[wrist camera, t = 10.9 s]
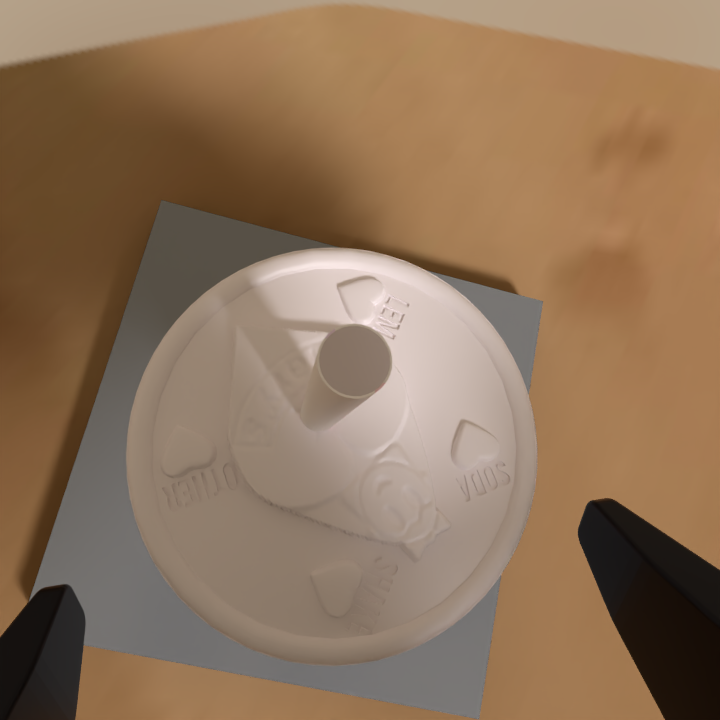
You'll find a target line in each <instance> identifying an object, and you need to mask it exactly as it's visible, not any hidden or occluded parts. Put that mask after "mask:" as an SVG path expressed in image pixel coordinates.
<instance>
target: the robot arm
mask: <svg viewBox="0 0 720 720" xmlns="http://www.w3.org/2000/svg"><path fill="white" fill-rule="evenodd" d="M578 537H579V541H580V544H581V546H582V549H583V551H584V554H585V556H586V558H587V561H588V563H589V566H590V568H591V570H592V573H593V575H594V578H595V580H596V583H597V585H598V587H599V590H600V592H601V595H602V597H603V600H604V602H605V604H606V607H607V609H608V611H609V614H610V616H611V618H612V620H613V622H614V624H615V626H616V628H617V630H618V632H619V634H620V636H621V638H622V640H623V642H624V644H625V645H626V647H627V649H628V651H629V653H630V655H631V657H632V659H633V660H634V662H635V664H636V666H637V668H638V670H639V672H640V674H641V675H642V677H643V679H644V681H645V683H646V685H647V687H648V689H649V690H650V692H651V694H652V696H653V698H654V700H655V702H656V704H657V705H658V707H659V709H660V711H661V713H662V715H663V717H664V719H665V720H720V570H719V569H717V568H716V567H714V566H713V565H711V564H710V563H708V562H707V561H705V560H704V559H702V558H701V557H699V556H698V555H696V554H695V553H693V552H692V551H690V550H689V549H687V548H686V547H684V546H683V545H681V544H680V543H678V542H677V541H675V540H674V539H672V538H671V537H669V536H668V535H666V534H665V533H663V532H662V531H660V530H659V529H657V528H656V527H654V526H653V525H651V524H650V523H648V522H647V521H645V520H644V519H642V518H641V517H639V516H638V515H636V514H635V513H633V512H632V511H630V510H629V509H627V508H626V507H624V506H623V505H621V504H620V503H618V502H617V501H615V500H613V499H610V498H604V499H598V500H592V501H590V502H589V503H588V504H587V505H586V508H585V511H584V514H583V516H582V519H581V522H580V525H579V528H578ZM85 626H86V619H85V613H84V610H83V608H82V606H81V604H80V602H79V600H78V598H77V596H76V594H75V592H74V590H73V589H72V587H71V586H70V585H68V584H61V585H55V586H48V587H44V588H42V589H40V590H39V591H38V592H37V593H36V594H35V595H34V596H33V597H32V598H31V600H30V601H29V602H28V603H27V605H26V606H25V607H24V608H23V610H22V611H21V612H20V613H19V615H18V616H17V617H16V618H15V620H14V621H13V622H12V623H11V625H10V626H9V627H8V628H7V629H6V631H5V632H4V633H3V634H2V636H1V637H0V720H75V717H76V709H77V700H78V691H79V682H80V673H81V664H82V654H83V645H84V636H85Z"/></svg>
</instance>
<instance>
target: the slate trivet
mask: <svg viewBox="0 0 720 720" xmlns="http://www.w3.org/2000/svg"><path fill="white" fill-rule="evenodd" d="M314 248H340V247H336V246H333V245H329V244H325V243H321V242H318V241H314V240H310V239H306V238H303V237H299V236H295V235H291V234H287V233H284V232H280V231H276V230H272V229H269V228H265V227H261V226H257V225H254V224H250V223H246V222H242V221H239V220H235V219H231V218H227V217H223V216H220V215H216V214H212V213H208V212H205V211H201V210H197V209H193V208H190V207H186V206H182V205H178V204H175V203H171V202H167V201H163V200H161V203H160V206H159V209H158V212H157V215H156V218H155V221H154V224H153V227H152V230H151V233H150V237H149V240H148V243H147V246H146V249H145V252H144V255H143V258H142V261H141V264H140V267H139V270H138V273H137V276H136V279H135V282H134V285H133V288H132V291H131V294H130V297H129V300H128V303H127V306H126V309H125V312H124V315H123V318H122V321H121V324H120V327H119V330H118V333H117V336H116V339H115V342H114V345H113V348H112V351H111V354H110V357H109V360H108V363H107V366H106V369H105V372H104V376H103V379H102V382H101V385H100V388H99V391H98V394H97V397H96V400H95V403H94V406H93V409H92V412H91V415H90V418H89V421H88V424H87V427H86V430H85V433H84V436H83V439H82V442H81V445H80V448H79V451H78V454H77V457H76V460H75V463H74V466H73V469H72V472H71V475H70V478H69V481H68V484H67V487H66V490H65V493H64V496H63V499H62V502H61V505H60V508H59V512H58V515H57V518H56V521H55V524H54V527H53V530H52V533H51V536H50V539H49V542H48V545H47V548H46V551H45V554H44V557H43V560H42V563H41V566H40V569H39V572H38V575H37V578H36V581H35V584H34V587H33V590H32V593H31V596H30V599H29V601H30V600H31V598H32V597H33V596H34V595H35V594H36V593H37V592H38V591H39V590H40V589H42V588H44V587H48V586H55V585H61V584H68V585H70V586H71V587H72V589H73V590H74V592H75V594H76V596H77V598H78V600H79V602H80V604H81V606H82V608H83V610H84V613H85V619H86V626H85V636H84V645H86V646H91V647H96V648H102V649H107V650H112V651H118V652H123V653H128V654H134V655H139V656H144V657H150V658H155V659H160V660H166V661H171V662H176V663H182V664H187V665H193V666H198V667H203V668H209V669H214V670H219V671H225V672H230V673H235V674H241V675H246V676H251V677H257V678H262V679H267V680H273V681H278V682H283V683H289V684H294V685H299V686H305V687H310V688H315V689H321V690H326V691H331V692H337V693H342V694H347V695H353V696H358V697H363V698H369V699H374V700H379V701H385V702H390V703H395V704H401V705H406V706H411V707H417V708H422V709H427V710H433V711H438V712H443V713H449V714H454V715H459V716H465V717H470V718H475V719H479V716H480V710H481V703H482V697H483V690H484V684H485V677H486V671H487V664H488V658H489V651H490V644H491V638H492V631H493V625H494V618H495V612H496V605H497V599H498V592H499V586H500V579H501V575H500V577H499V578H498V580H497V581H496V582H495V584H494V585H493V586H492V587H491V589H490V590H489V591H488V592H487V594H486V595H485V596H484V597H483V598H482V599H481V600H480V601H479V602H478V603H477V604H476V605H475V606H474V607H473V609H472V610H471V611H470V612H468V613H467V614H466V615H465V616H464V617H462V618H461V619H460V620H459V621H458V622H456V623H455V624H454V625H453V626H451V627H450V628H448V629H447V630H445V631H444V632H442V633H441V634H439V635H438V636H436V637H434V638H433V639H431V640H429V641H427V642H425V643H423V644H421V645H420V646H418V647H415V648H413V649H410V650H408V651H405V652H403V653H401V654H398V655H395V656H391V657H388V658H384V659H381V660H378V661H372V662H367V663H361V664H355V665H341V666H321V665H308V664H301V663H294V662H289V661H285V660H281V659H277V658H273V657H270V656H267V655H264V654H262V653H259V652H256V651H254V650H251V649H249V648H247V647H245V646H243V645H241V644H239V643H237V642H235V641H233V640H231V639H229V638H228V637H226V636H224V635H223V634H221V633H220V632H218V631H217V630H215V629H214V628H212V627H211V626H210V625H208V624H207V623H206V622H205V621H203V620H202V619H201V618H200V617H199V616H197V615H196V614H195V613H194V612H193V611H192V610H191V609H190V608H189V607H188V606H187V605H186V604H185V603H184V602H183V601H182V600H181V599H180V598H179V597H178V596H177V595H176V593H175V592H174V591H173V589H172V588H171V587H170V586H169V584H168V583H167V582H166V581H165V579H164V578H163V576H162V575H161V573H160V571H159V570H158V568H157V567H156V565H155V563H154V562H153V560H152V558H151V556H150V554H149V552H148V550H147V548H146V546H145V544H144V542H143V539H142V537H141V534H140V531H139V528H138V526H137V523H136V520H135V516H134V512H133V508H132V504H131V500H130V495H129V488H128V481H127V465H126V449H127V433H128V427H129V421H130V415H131V410H132V407H133V403H134V399H135V396H136V392H137V389H138V387H139V384H140V381H141V379H142V376H143V374H144V371H145V369H146V367H147V365H148V363H149V361H150V359H151V357H152V355H153V353H154V352H155V350H156V349H157V347H158V345H159V344H160V342H161V341H162V339H163V337H164V336H165V335H166V333H167V332H168V331H169V329H170V328H171V327H172V325H173V324H174V323H175V322H176V320H177V319H178V318H179V317H180V316H181V315H182V314H183V313H184V312H185V311H186V310H187V309H188V308H189V306H190V305H191V304H193V303H194V302H195V301H196V300H197V299H198V298H199V297H201V296H202V295H203V294H204V293H205V292H206V291H208V290H209V289H211V288H212V287H213V286H215V285H216V284H218V283H219V282H220V281H222V280H223V279H225V278H227V277H229V276H230V275H232V274H234V273H235V272H237V271H239V270H241V269H243V268H245V267H248V266H250V265H252V264H254V263H256V262H259V261H262V260H265V259H268V258H271V257H273V256H277V255H281V254H285V253H289V252H293V251H300V250H306V249H314ZM426 271H427V270H426ZM428 272H430V273H431V274H433V275H435V276H437V277H438V278H440V279H442V280H443V281H445V282H446V283H448V284H449V285H451V286H452V287H453V288H455V289H456V290H457V291H458V292H460V293H461V294H462V295H463V296H465V297H466V298H467V299H468V300H469V301H470V302H471V303H472V304H473V305H474V306H475V307H476V308H477V309H478V310H479V311H480V312H481V313H482V314H483V315H484V316H485V317H486V319H487V320H488V321H489V322H490V323H491V324H492V325H493V327H494V328H495V330H496V331H497V332H498V334H499V335H500V337H501V338H502V339H503V341H504V342H505V344H506V346H507V348H508V349H509V351H510V353H511V354H512V356H513V358H514V360H515V362H516V364H517V366H518V369H519V371H520V373H521V375H522V378H523V381H524V383H525V386H526V389H527V392H528V395H529V389H530V383H531V376H532V370H533V363H534V356H535V350H536V343H537V337H538V330H539V324H540V317H541V311H542V304H543V301H540V300H536V299H532V298H528V297H525V296H521V295H517V294H513V293H510V292H506V291H502V290H498V289H494V288H491V287H487V286H483V285H479V284H476V283H472V282H468V281H464V280H461V279H457V278H453V277H449V276H446V275H442V274H438V273H434V272H431V271H428Z"/></svg>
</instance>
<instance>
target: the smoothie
mask: <svg viewBox="0 0 720 720" xmlns="http://www.w3.org/2000/svg"><path fill="white" fill-rule="evenodd" d="M126 465H127V481H128V488H129V495H130V500H131V504H132V508H133V512H134V516H135V520H136V523H137V526H138V528H139V531H140V534H141V537H142V539H143V542H144V544H145V546H146V548H147V550H148V552H149V554H150V556H151V558H152V560H153V562H154V563H155V565H156V567H157V568H158V570H159V571H160V573H161V575H162V576H163V578H164V579H165V581H166V582H167V583H168V584H169V586H170V587H171V588H172V589H173V591H174V592H175V593H176V595H177V596H178V597H179V598H180V599H181V600H182V601H183V602H184V603H185V604H186V605H187V606H188V607H189V608H190V609H191V610H192V611H193V612H194V613H195V614H196V615H197V616H199V617H200V618H201V619H202V620H203V621H205V622H206V623H207V624H208V625H210V626H211V627H212V628H214V629H215V630H217V631H218V632H220V633H221V634H223V635H224V636H226V637H228V638H229V639H231V640H233V641H235V642H237V643H239V644H241V645H243V646H245V647H247V648H249V649H251V650H254V651H256V652H259V653H262V654H264V655H267V656H270V657H273V658H277V659H281V660H285V661H289V662H294V663H301V664H308V665H321V666H341V665H355V664H361V663H367V662H372V661H378V660H381V659H384V658H388V657H391V656H395V655H398V654H401V653H403V652H405V651H408V650H410V649H413V648H415V647H418V646H420V645H421V644H423V643H425V642H427V641H429V640H431V639H433V638H434V637H436V636H438V635H439V634H441V633H442V632H444V631H445V630H447V629H448V628H450V627H451V626H453V625H454V624H455V623H456V622H458V621H459V620H460V619H461V618H462V617H464V616H465V615H466V614H467V613H468V612H470V611H471V610H472V609H473V607H474V606H475V605H476V604H477V603H478V602H479V601H480V600H481V599H482V598H483V597H484V596H485V595H486V594H487V592H488V591H489V590H490V589H491V587H492V586H493V585H494V584H495V582H496V581H497V580H498V578H499V577H500V575H501V574H502V572H503V571H504V569H505V568H506V566H507V565H508V563H509V561H510V559H511V557H512V555H513V553H514V552H515V550H516V548H517V546H518V544H519V541H520V539H521V536H522V534H523V531H524V529H525V526H526V523H527V520H528V516H529V513H530V509H531V506H532V501H533V496H534V491H535V484H536V474H537V438H536V427H535V422H534V416H533V410H532V406H531V403H530V399H529V395H528V392H527V389H526V386H525V383H524V381H523V378H522V375H521V373H520V371H519V369H518V366H517V364H516V362H515V360H514V358H513V356H512V354H511V353H510V351H509V349H508V348H507V346H506V344H505V342H504V341H503V339H502V338H501V337H500V335H499V334H498V332H497V331H496V330H495V328H494V327H493V325H492V324H491V323H490V322H489V321H488V320H487V319H486V317H485V316H484V315H483V314H482V313H481V312H480V311H479V310H478V309H477V308H476V307H475V306H474V305H473V304H472V303H471V302H470V301H469V300H468V299H467V298H466V297H465V296H463V295H462V294H461V293H460V292H458V291H457V290H456V289H455V288H453V287H452V286H451V285H449V284H448V283H446V282H445V281H443V280H442V279H440V278H438V277H437V276H435V275H433V274H431V273H430V272H428V271H426V270H424V269H422V268H420V267H418V266H416V265H413V264H411V263H409V262H406V261H404V260H401V259H398V258H395V257H392V256H388V255H385V254H381V253H376V252H372V251H367V250H359V249H351V248H314V249H306V250H300V251H293V252H289V253H285V254H281V255H277V256H273V257H271V258H268V259H265V260H262V261H259V262H256V263H254V264H252V265H250V266H248V267H245V268H243V269H241V270H239V271H237V272H235V273H234V274H232V275H230V276H229V277H227V278H225V279H223V280H222V281H220V282H219V283H218V284H216V285H215V286H213V287H212V288H211V289H209V290H208V291H206V292H205V293H204V294H203V295H202V296H201V297H199V298H198V299H197V300H196V301H195V302H194V303H193V304H191V305H190V306H189V308H188V309H187V310H186V311H185V312H184V313H183V314H182V315H181V316H180V317H179V318H178V319H177V320H176V322H175V323H174V324H173V325H172V327H171V328H170V329H169V331H168V332H167V333H166V335H165V336H164V337H163V339H162V341H161V342H160V344H159V345H158V347H157V349H156V350H155V352H154V353H153V355H152V357H151V359H150V361H149V363H148V365H147V367H146V369H145V371H144V374H143V376H142V379H141V381H140V384H139V387H138V389H137V392H136V396H135V399H134V403H133V407H132V410H131V415H130V421H129V427H128V433H127V449H126Z"/></svg>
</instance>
